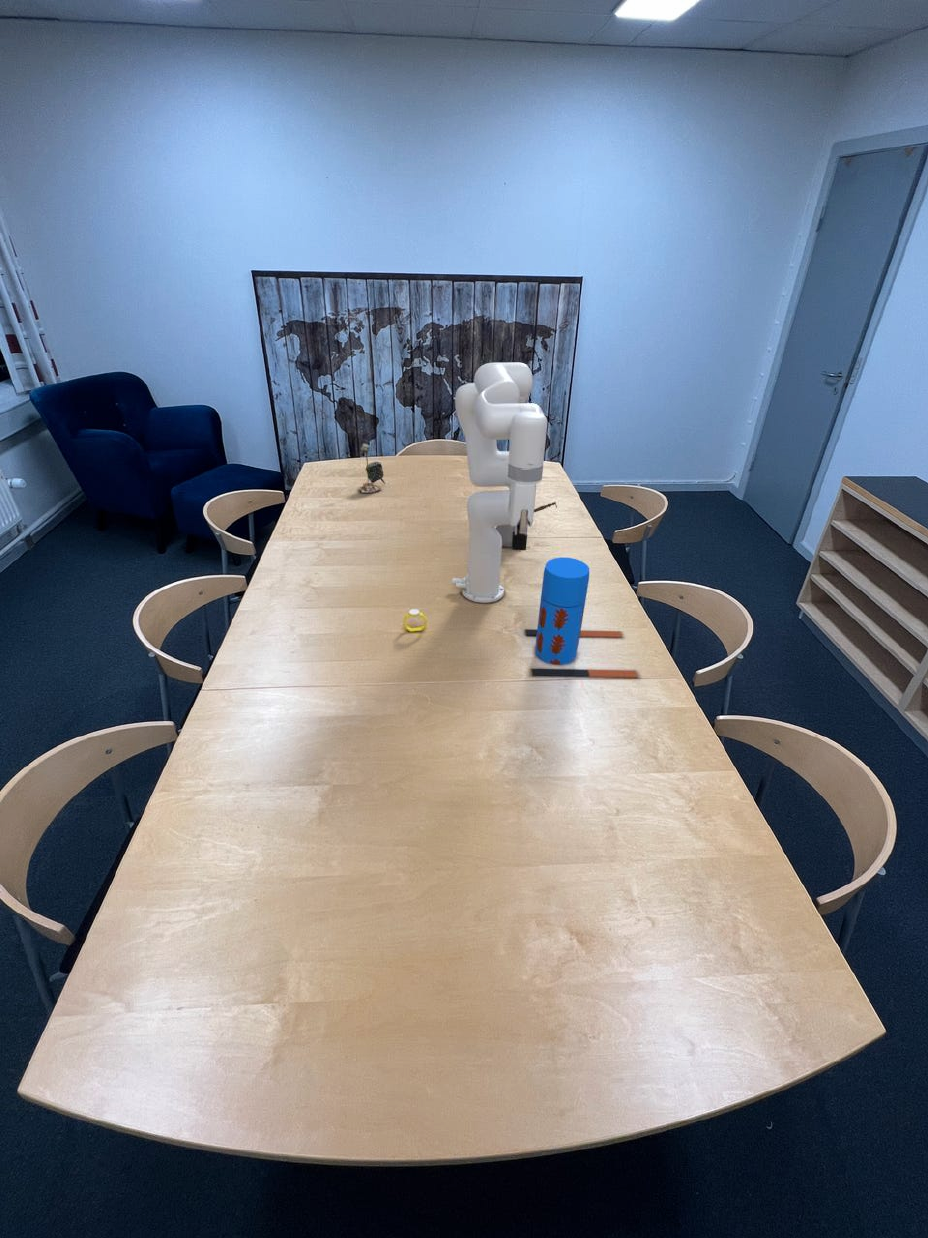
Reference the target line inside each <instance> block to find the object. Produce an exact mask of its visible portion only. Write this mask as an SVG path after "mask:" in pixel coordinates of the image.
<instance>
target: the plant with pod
mask: <svg viewBox="0 0 928 1238" xmlns="http://www.w3.org/2000/svg"><path fill="white" fill-rule="evenodd" d="M370 448H371V446H370V444H367V443H362V445H361V447H360V452H359V454H360V455H361V454H362V453H364V454H365V458H366V467H365V472H366V476H367V479H368V481H370V482H363V486H360V487H358V489H359V493H363V494H367V493H371V494H372V493H375V492H378V491H380V488H379V487H378V486H377V485H374V483H376V482H377V481H381V482H382V484H384V485H386V482H385V480H384V479H383V478H384V471H383V466H382V462H380V461H377V460H376V461H374V462H373V461H372V462H370V463H369V460H368V459H369V458H368V453H369V452H370Z"/></svg>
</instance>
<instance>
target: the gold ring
mask: <svg viewBox="0 0 928 1238" xmlns="http://www.w3.org/2000/svg"><path fill="white" fill-rule="evenodd" d="M418 616H419V617H421V618H422V619H423V620H424V621H423V624H422V625H421V626H418V627H410V626H408V624H407V623H406V622H407V619H408V618H409V617H412V618H413V617H418ZM403 626H404V628H405V630H407V631H408V632H422V631H423V630H424V629H425V628H426V626H427V617H426V615H424V613H423V612H420V610H419V609H416V608H413V609H410V610H409V611H408V613H406V614H405V615H404V616H403Z"/></svg>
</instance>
